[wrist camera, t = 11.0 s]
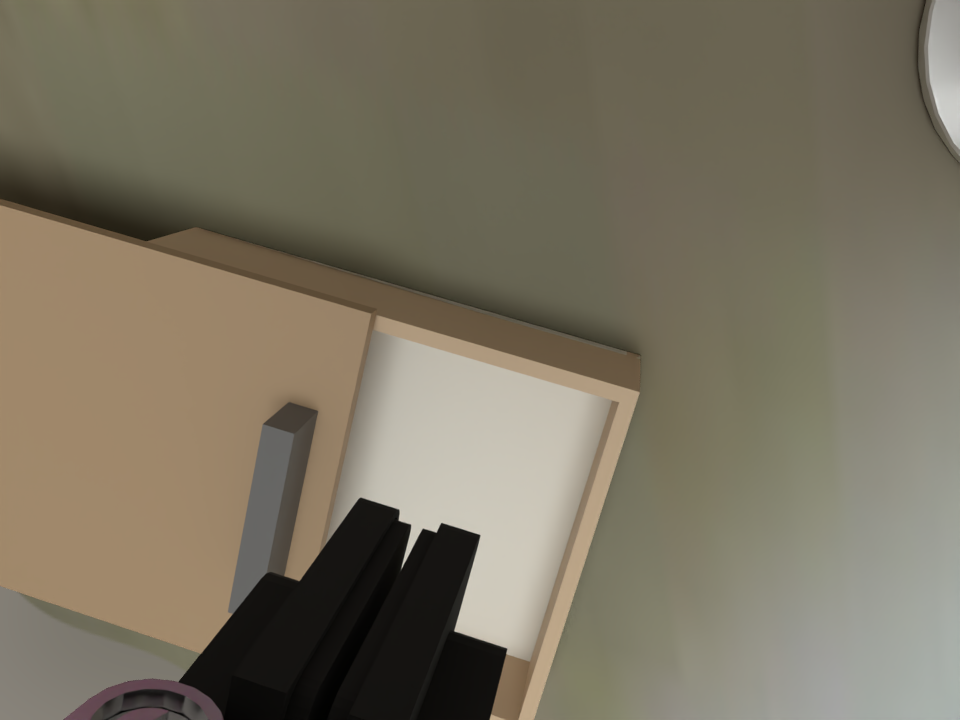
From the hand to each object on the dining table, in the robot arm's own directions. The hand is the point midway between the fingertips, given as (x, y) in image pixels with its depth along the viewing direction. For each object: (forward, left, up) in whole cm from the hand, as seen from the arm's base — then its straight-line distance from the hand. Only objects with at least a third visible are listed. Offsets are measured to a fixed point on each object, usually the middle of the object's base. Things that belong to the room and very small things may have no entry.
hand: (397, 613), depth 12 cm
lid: (+16, +11, -22) cm, 30 cm away
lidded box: (+6, +11, -27) cm, 30 cm away
